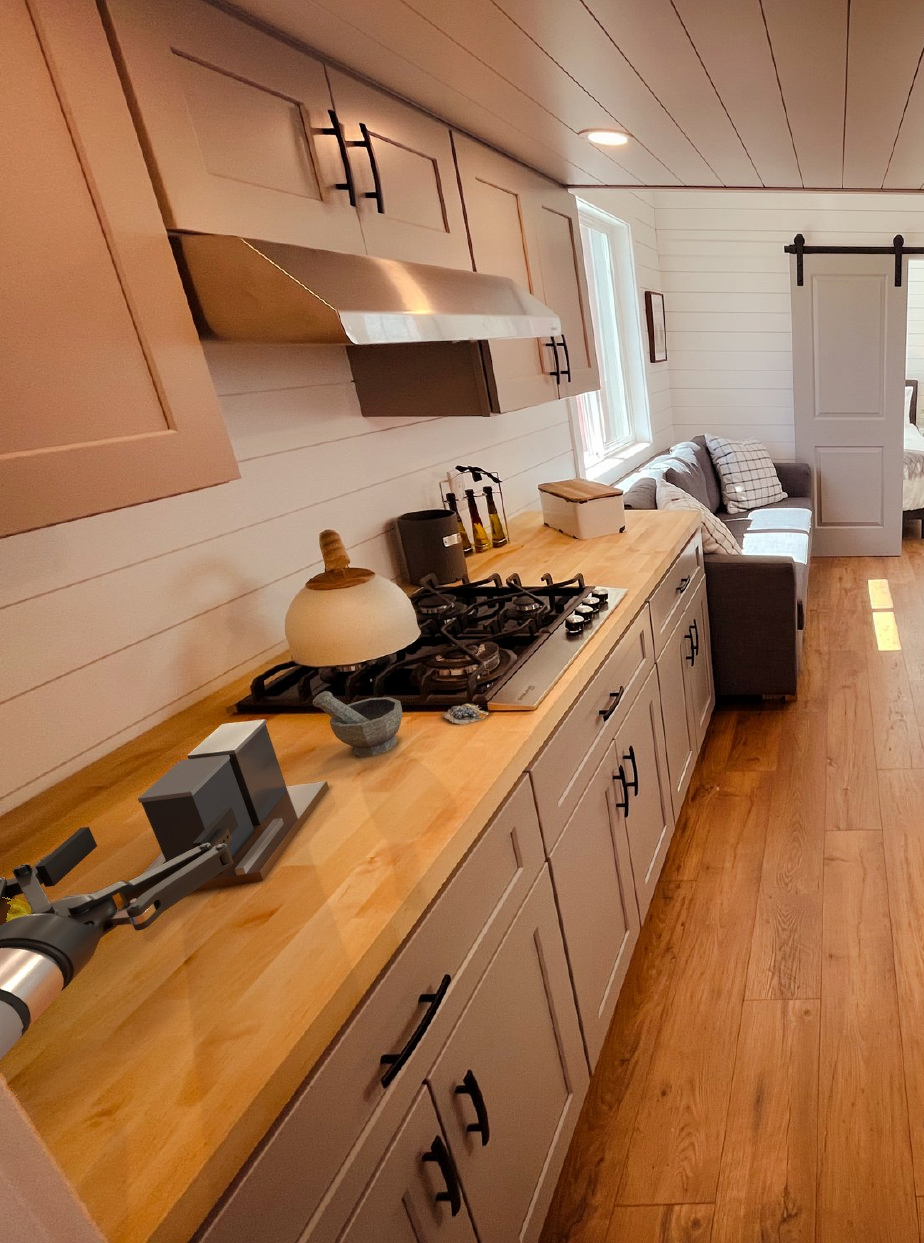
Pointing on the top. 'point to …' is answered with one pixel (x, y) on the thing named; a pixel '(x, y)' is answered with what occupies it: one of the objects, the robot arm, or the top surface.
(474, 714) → the blueberries
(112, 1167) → the top surface
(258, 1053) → the top surface
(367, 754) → the mortar and pestle
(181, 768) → the loose pad
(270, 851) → the pad base
